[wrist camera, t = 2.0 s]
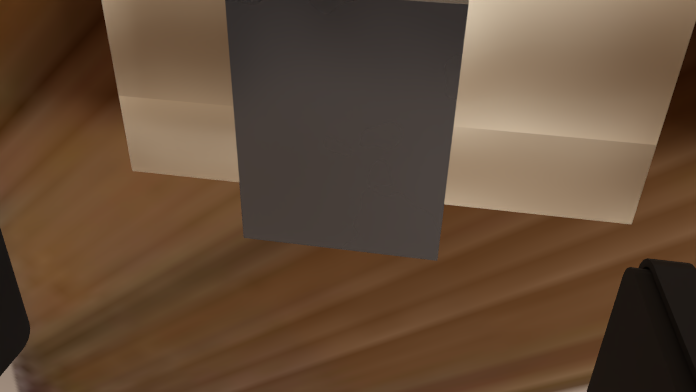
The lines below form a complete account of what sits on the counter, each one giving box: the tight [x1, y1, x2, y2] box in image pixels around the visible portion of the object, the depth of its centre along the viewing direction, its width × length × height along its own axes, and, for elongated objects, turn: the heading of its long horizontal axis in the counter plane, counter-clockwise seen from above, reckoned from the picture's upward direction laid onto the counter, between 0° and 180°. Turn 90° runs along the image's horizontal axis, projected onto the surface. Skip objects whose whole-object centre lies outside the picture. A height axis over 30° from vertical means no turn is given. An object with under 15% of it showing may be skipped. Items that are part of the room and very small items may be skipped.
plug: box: [225, 0, 469, 260], centre depth 17 cm, size 6×4×11 cm
